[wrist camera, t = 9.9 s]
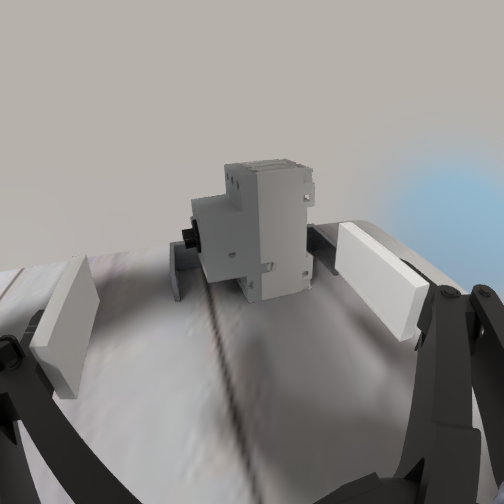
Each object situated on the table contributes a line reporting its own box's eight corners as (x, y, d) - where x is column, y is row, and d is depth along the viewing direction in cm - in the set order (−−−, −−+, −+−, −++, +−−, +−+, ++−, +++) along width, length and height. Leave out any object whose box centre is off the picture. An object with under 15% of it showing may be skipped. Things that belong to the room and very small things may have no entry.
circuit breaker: (189, 282, 42) (173, 171, 36) (288, 263, 46) (287, 158, 39) (197, 313, 36) (178, 183, 29) (311, 289, 39) (314, 168, 33)
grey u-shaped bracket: (175, 301, 38) (169, 273, 36) (174, 267, 46) (170, 242, 44) (338, 274, 42) (340, 247, 40) (312, 247, 50) (312, 223, 48)
